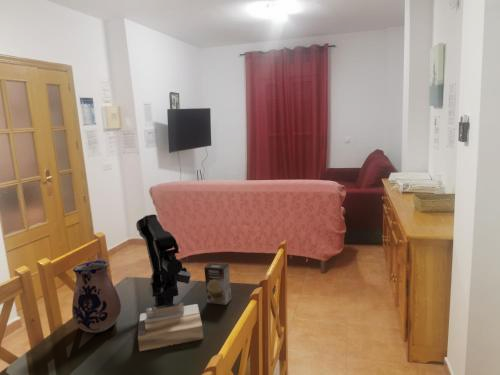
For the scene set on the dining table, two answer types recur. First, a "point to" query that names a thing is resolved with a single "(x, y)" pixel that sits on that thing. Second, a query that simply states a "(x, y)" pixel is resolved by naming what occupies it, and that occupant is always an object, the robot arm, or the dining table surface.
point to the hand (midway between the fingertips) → (171, 304)
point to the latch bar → (164, 310)
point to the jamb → (187, 311)
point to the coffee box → (217, 283)
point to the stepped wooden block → (169, 332)
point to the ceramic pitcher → (94, 297)
